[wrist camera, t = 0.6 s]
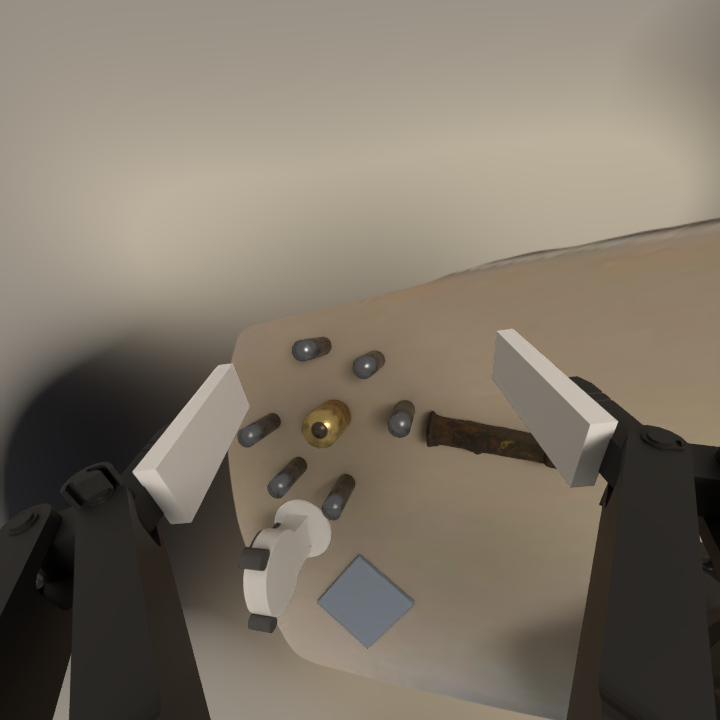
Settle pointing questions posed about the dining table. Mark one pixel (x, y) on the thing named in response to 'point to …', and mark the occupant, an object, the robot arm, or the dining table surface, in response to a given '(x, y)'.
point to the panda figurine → (281, 560)
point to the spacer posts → (298, 466)
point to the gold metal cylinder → (326, 423)
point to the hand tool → (484, 439)
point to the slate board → (365, 601)
